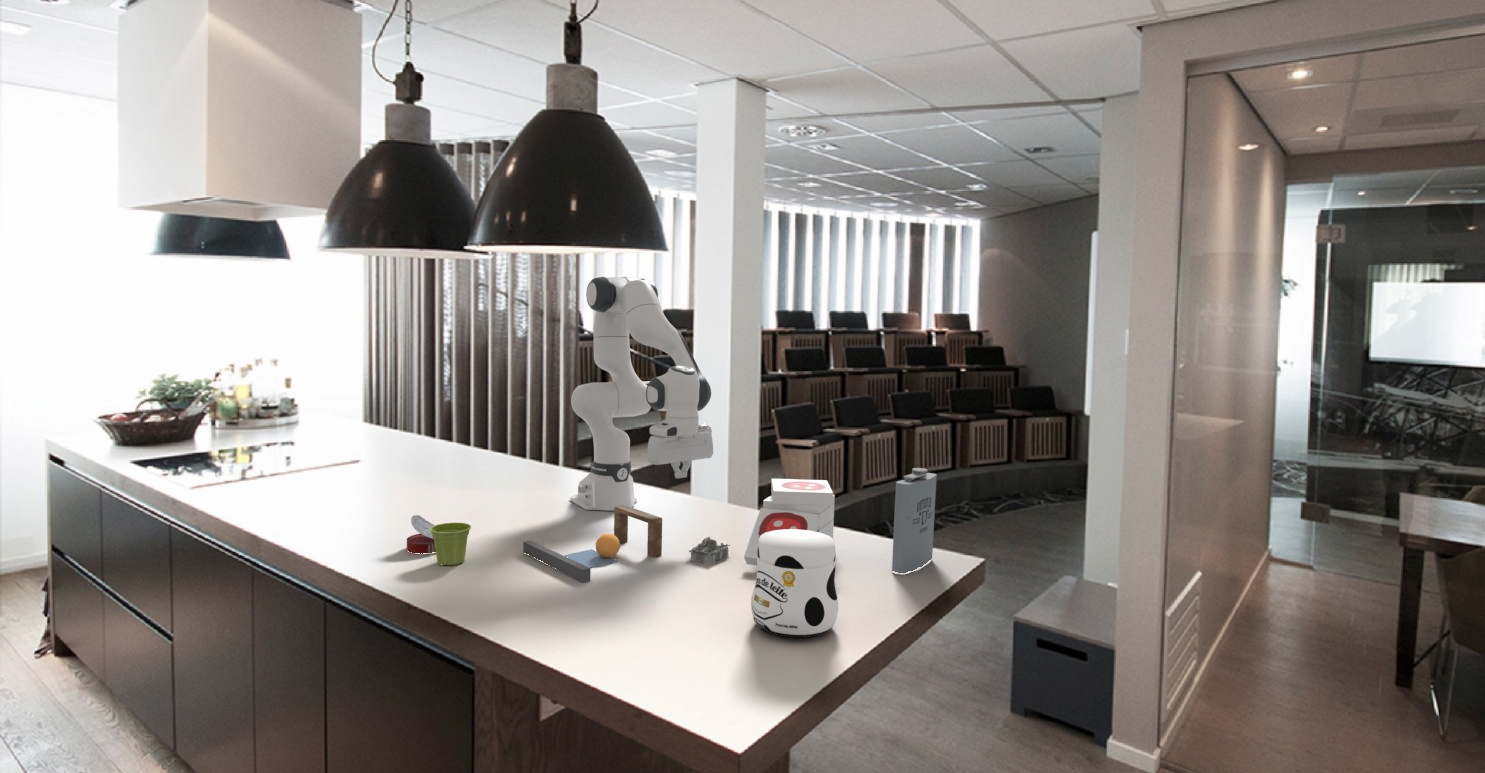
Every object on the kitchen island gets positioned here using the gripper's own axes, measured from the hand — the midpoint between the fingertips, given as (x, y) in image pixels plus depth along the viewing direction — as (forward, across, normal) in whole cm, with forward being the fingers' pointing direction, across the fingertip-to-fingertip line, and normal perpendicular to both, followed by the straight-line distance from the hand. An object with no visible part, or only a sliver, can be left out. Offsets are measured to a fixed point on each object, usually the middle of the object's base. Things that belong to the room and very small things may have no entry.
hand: (680, 477), depth 220 cm
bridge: (+17, +14, 0) cm, 22 cm away
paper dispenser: (+17, -12, +31) cm, 38 cm away
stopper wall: (+17, +38, 0) cm, 42 cm away
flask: (+17, -32, +54) cm, 65 cm away
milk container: (+18, +20, +62) cm, 67 cm away
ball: (+14, +24, +2) cm, 28 cm away
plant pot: (+17, +56, -18) cm, 61 cm away
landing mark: (+17, +30, 0) cm, 35 cm away
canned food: (+18, +56, -32) cm, 67 cm away
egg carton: (+18, +4, +17) cm, 25 cm away
